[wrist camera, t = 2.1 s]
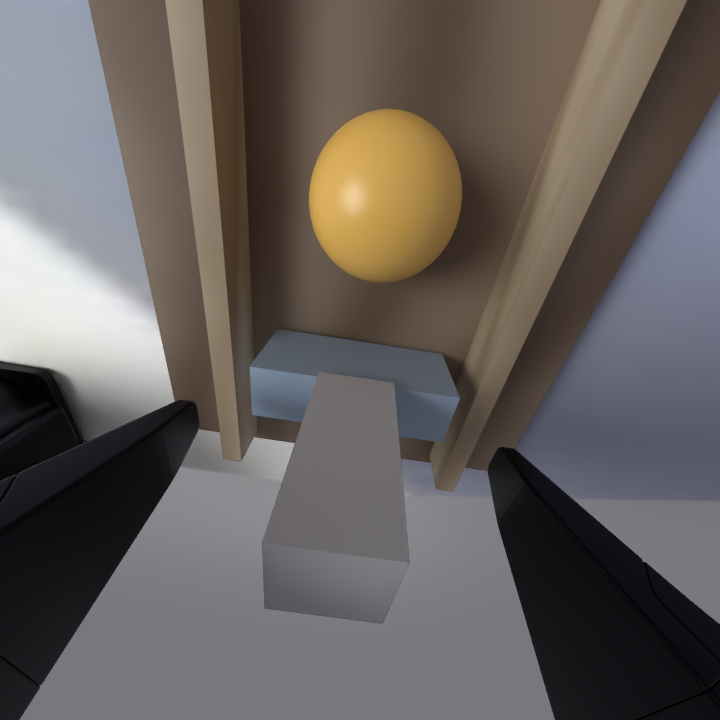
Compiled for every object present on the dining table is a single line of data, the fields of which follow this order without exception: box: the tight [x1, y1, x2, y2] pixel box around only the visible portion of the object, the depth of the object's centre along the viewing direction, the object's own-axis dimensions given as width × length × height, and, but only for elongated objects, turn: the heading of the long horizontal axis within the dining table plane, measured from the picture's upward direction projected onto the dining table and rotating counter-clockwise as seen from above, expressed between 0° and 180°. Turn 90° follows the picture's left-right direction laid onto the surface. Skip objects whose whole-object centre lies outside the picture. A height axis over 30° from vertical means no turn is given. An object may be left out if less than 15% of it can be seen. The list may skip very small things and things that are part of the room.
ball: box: [309, 109, 462, 283], centre depth 8 cm, size 4×4×4 cm
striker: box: [250, 329, 460, 624], centre depth 9 cm, size 7×2×8 cm, turn 82°
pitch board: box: [88, 0, 720, 492], centre depth 10 cm, size 17×20×3 cm
